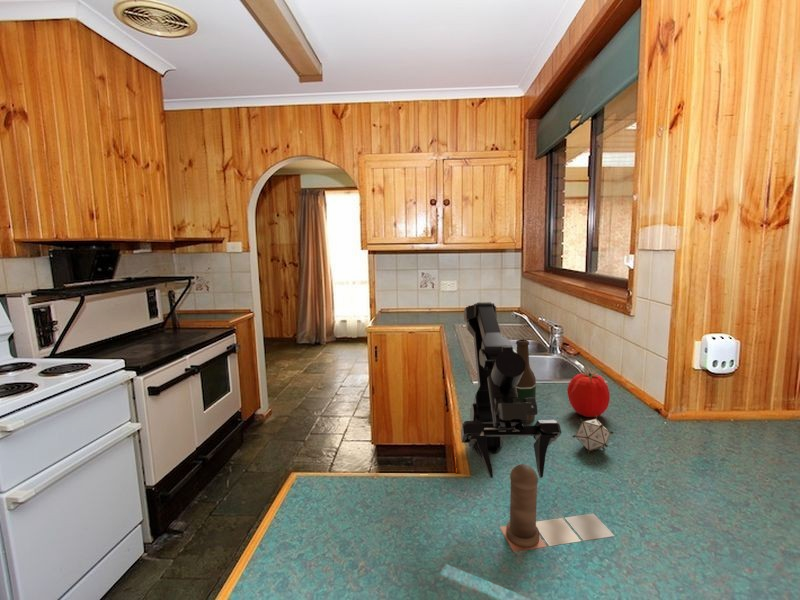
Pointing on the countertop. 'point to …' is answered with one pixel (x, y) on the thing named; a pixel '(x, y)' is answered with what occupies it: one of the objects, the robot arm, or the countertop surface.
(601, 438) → the game die
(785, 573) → the countertop surface
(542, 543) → the board
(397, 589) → the countertop surface
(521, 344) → the beer bottle
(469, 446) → the robot arm
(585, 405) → the tomato
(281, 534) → the countertop surface
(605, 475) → the countertop surface
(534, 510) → the pawn
